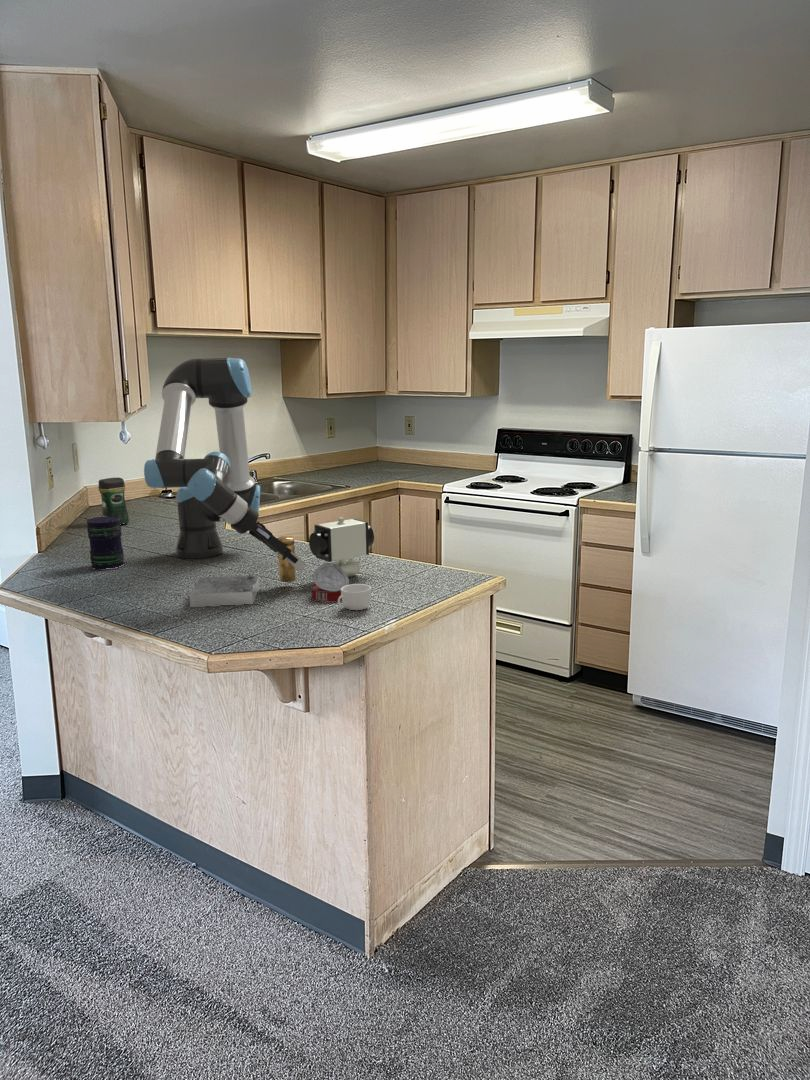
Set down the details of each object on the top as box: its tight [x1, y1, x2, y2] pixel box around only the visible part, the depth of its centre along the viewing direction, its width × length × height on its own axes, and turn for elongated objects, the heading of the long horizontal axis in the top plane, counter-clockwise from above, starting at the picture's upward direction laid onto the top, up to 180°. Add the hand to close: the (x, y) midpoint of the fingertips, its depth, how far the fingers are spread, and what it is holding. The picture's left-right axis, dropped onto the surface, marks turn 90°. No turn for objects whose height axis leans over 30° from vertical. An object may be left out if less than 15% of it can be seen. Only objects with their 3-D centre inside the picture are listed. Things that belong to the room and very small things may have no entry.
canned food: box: [311, 562, 350, 602], centre depth 213 cm, size 11×10×10 cm
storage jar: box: [86, 516, 125, 569], centre depth 248 cm, size 10×10×15 cm
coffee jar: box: [98, 477, 130, 524], centre depth 312 cm, size 10×8×19 cm
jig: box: [188, 574, 260, 608], centre depth 214 cm, size 16×16×4 cm
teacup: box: [337, 583, 372, 611], centre depth 202 cm, size 10×8×5 cm
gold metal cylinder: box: [276, 535, 297, 583], centre depth 222 cm, size 5×5×12 cm
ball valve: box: [308, 517, 375, 578], centre depth 230 cm, size 18×8×18 cm, turn 127°
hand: (299, 565), depth 224 cm, fingers closed on gold metal cylinder, 4 cm apart
